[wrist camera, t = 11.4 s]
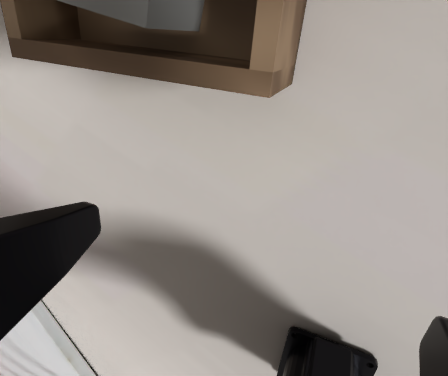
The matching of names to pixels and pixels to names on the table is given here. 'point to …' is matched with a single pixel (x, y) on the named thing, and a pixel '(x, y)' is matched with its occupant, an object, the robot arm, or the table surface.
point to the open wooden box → (167, 43)
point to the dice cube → (149, 12)
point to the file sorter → (40, 348)
